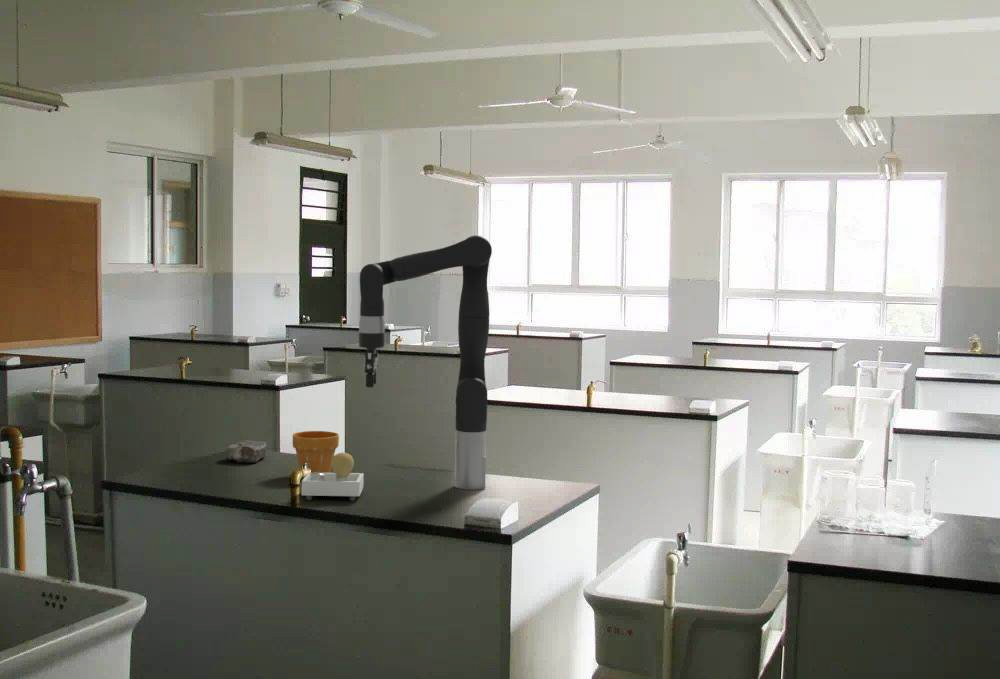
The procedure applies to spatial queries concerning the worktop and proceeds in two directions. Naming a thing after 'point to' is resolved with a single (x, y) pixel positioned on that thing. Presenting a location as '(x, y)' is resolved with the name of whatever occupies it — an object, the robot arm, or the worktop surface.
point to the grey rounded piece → (317, 476)
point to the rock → (246, 451)
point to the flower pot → (316, 449)
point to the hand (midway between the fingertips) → (371, 385)
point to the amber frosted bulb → (342, 466)
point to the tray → (333, 486)
